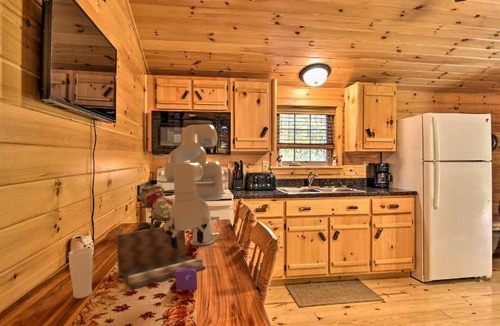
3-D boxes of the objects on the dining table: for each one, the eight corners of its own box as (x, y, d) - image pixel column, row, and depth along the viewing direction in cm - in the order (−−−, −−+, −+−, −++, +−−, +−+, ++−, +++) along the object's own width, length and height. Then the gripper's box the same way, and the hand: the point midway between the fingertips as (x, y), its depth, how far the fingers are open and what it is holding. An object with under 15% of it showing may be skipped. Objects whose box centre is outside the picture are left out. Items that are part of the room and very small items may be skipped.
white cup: (77, 291, 101) (75, 248, 101) (97, 290, 102) (95, 247, 102) (66, 301, 95) (64, 254, 94) (88, 299, 95) (86, 253, 95)
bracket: (197, 290, 100) (196, 269, 99) (176, 292, 98) (175, 272, 98) (196, 276, 111) (195, 258, 111) (177, 278, 110) (176, 260, 110)
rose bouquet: (159, 240, 163) (157, 186, 162) (126, 235, 178) (124, 185, 178) (191, 229, 184) (189, 182, 184) (159, 225, 200) (157, 181, 199)
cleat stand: (184, 255, 134) (182, 223, 134) (205, 268, 117) (203, 231, 117) (118, 271, 118) (116, 234, 118) (131, 289, 101) (129, 246, 101)
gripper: (202, 194, 113) (204, 238, 113) (157, 199, 103) (160, 248, 103) (212, 195, 107) (214, 242, 107) (165, 200, 97) (167, 252, 97)
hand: (187, 245), depth 105 cm, fingers open, 9 cm apart
